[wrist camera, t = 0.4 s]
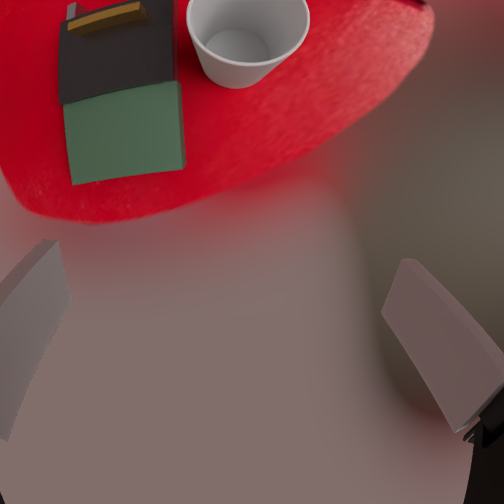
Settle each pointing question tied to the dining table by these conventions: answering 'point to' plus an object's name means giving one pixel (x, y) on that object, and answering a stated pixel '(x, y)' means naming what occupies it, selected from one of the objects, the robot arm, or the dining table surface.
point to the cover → (116, 49)
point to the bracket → (78, 10)
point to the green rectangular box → (125, 133)
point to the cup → (245, 36)
